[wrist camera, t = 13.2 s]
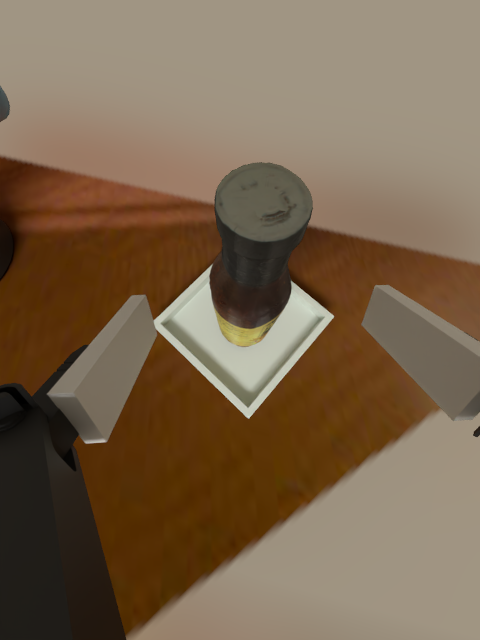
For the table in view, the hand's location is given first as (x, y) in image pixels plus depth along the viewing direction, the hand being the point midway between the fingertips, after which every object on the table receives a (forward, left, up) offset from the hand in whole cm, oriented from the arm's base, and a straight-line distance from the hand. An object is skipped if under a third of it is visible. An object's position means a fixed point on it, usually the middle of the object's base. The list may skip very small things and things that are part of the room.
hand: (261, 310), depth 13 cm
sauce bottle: (-2, +1, -15) cm, 15 cm away
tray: (-2, +1, -16) cm, 16 cm away
